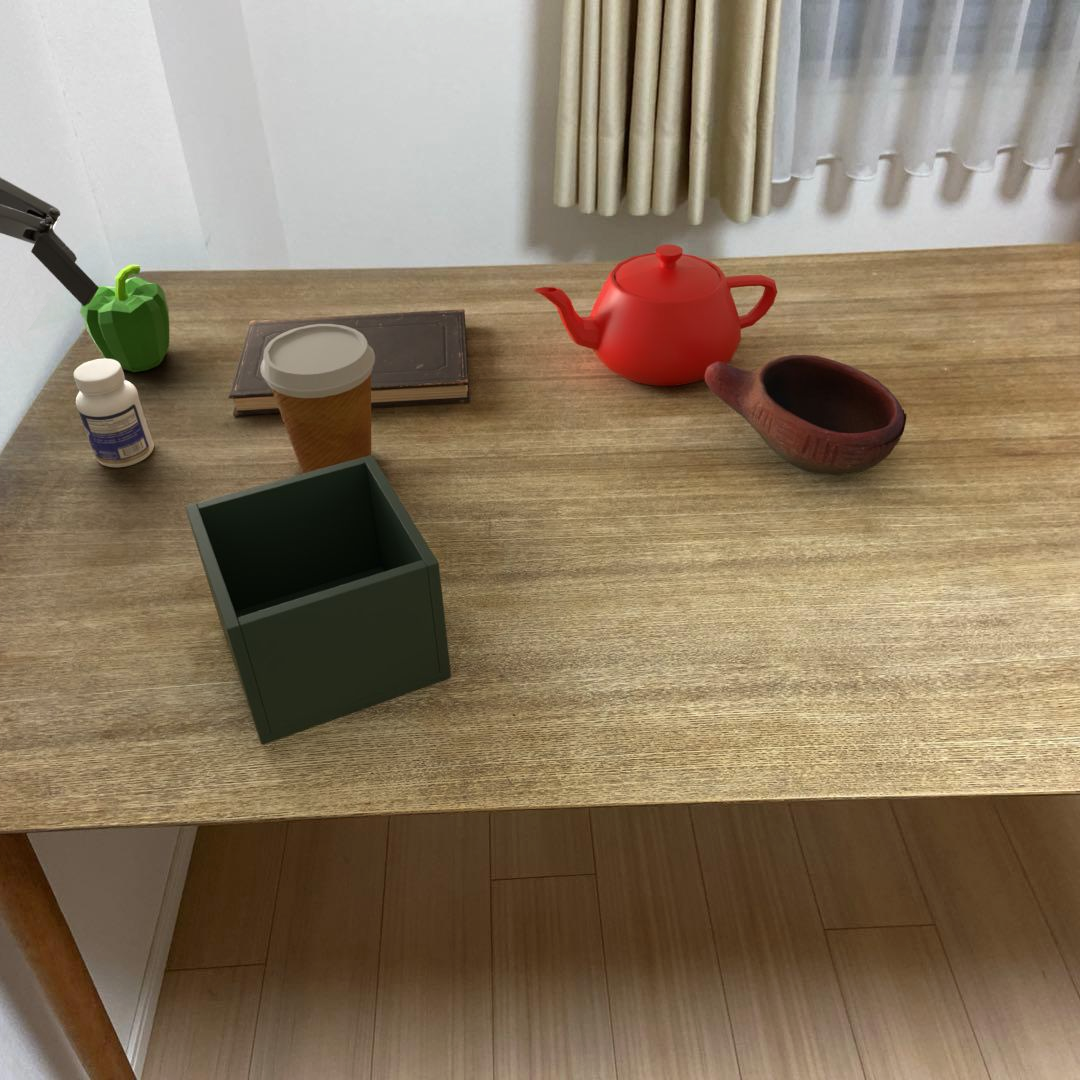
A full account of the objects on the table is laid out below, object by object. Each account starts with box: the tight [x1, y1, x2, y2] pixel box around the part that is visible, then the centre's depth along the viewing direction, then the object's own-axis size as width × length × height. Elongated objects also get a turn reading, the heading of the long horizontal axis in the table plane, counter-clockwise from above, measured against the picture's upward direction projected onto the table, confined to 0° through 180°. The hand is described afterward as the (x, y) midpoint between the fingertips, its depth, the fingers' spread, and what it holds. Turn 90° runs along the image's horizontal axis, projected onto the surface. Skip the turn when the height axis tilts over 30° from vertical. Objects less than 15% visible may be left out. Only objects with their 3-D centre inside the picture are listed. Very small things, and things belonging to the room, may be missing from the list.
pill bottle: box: [73, 358, 155, 468], centre depth 92 cm, size 5×5×9 cm
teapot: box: [533, 243, 778, 387], centre depth 102 cm, size 25×16×12 cm, turn 101°
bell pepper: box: [79, 264, 170, 373], centre depth 105 cm, size 8×8×10 cm
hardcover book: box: [228, 308, 471, 417], centre depth 105 cm, size 16×23×2 cm
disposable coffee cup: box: [261, 324, 375, 474], centre depth 89 cm, size 10×10×12 cm
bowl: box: [704, 354, 907, 476], centre depth 89 cm, size 16×13×8 cm
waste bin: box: [184, 454, 452, 745], centre depth 71 cm, size 14×14×11 cm
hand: (35, 330), depth 90 cm, fingers open, 13 cm apart
